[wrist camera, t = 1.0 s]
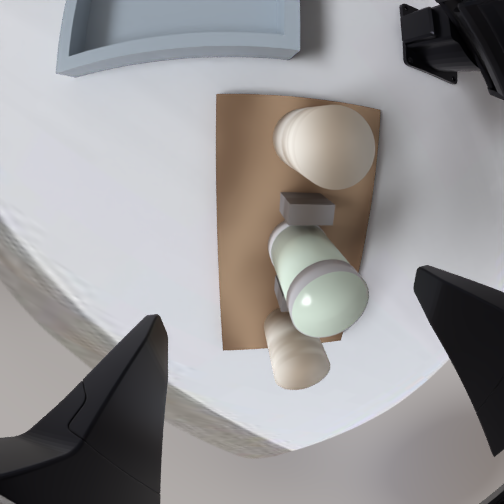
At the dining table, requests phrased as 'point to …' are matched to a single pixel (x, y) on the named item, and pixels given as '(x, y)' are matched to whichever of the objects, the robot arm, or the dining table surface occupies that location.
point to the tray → (173, 31)
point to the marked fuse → (316, 280)
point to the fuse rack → (286, 212)
